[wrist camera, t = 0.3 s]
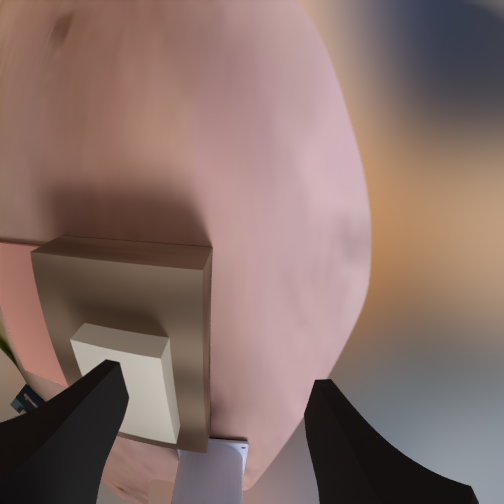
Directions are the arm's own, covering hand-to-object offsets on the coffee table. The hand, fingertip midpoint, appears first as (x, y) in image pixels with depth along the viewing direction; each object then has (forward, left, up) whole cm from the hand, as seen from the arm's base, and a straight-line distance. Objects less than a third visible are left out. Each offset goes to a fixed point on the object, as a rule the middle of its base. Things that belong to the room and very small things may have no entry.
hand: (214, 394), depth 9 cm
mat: (-7, +19, -10) cm, 23 cm away
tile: (-7, +6, -6) cm, 11 cm away
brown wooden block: (-7, +7, -10) cm, 14 cm away
